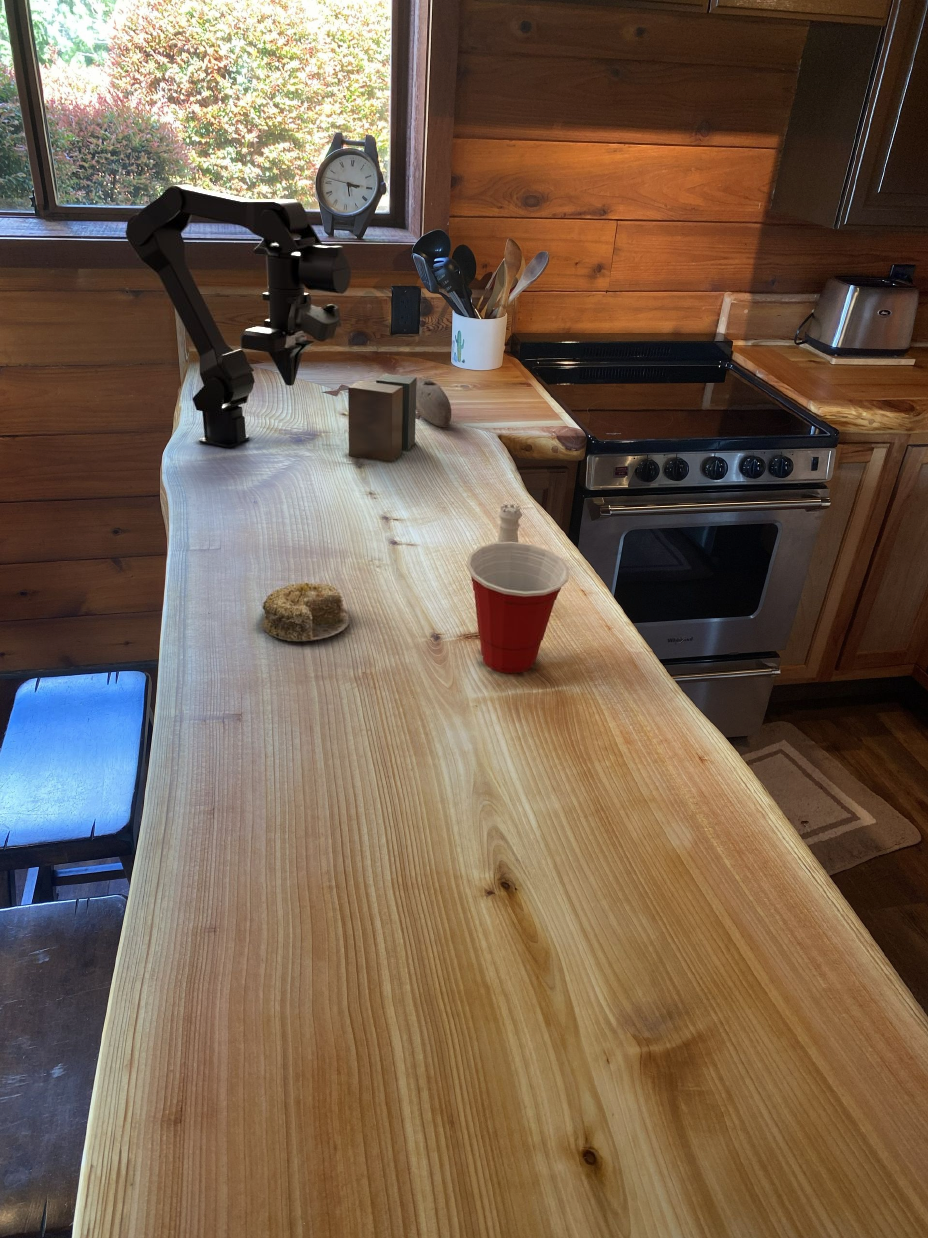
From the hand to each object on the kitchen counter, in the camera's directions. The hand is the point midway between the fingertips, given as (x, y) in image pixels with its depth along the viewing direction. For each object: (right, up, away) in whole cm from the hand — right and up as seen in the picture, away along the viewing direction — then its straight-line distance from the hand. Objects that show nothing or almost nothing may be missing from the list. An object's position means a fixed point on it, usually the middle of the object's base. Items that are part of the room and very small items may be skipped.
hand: (289, 384), depth 150 cm
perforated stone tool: (+23, 0, +27) cm, 36 cm away
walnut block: (+14, -10, +8) cm, 19 cm away
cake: (+11, -40, -46) cm, 62 cm away
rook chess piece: (+35, -32, -29) cm, 55 cm away
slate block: (+17, -7, +13) cm, 23 cm away
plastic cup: (+34, -44, -51) cm, 75 cm away
